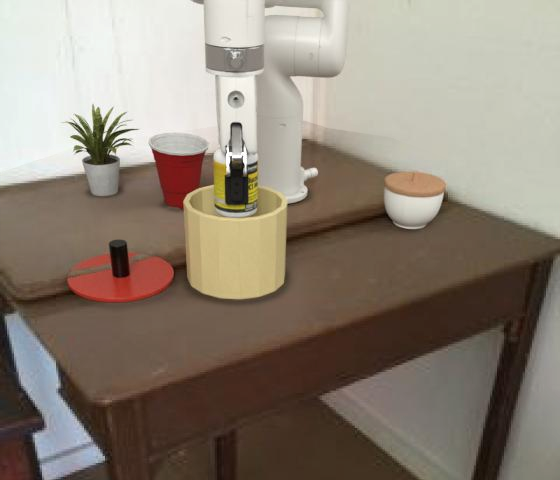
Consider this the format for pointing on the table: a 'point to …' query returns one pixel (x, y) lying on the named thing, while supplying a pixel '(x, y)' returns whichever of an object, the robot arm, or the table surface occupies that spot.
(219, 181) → the pill bottle
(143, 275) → the lid
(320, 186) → the table surface
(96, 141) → the house plant
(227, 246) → the tin
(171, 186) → the plastic cup
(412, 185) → the trinket box
